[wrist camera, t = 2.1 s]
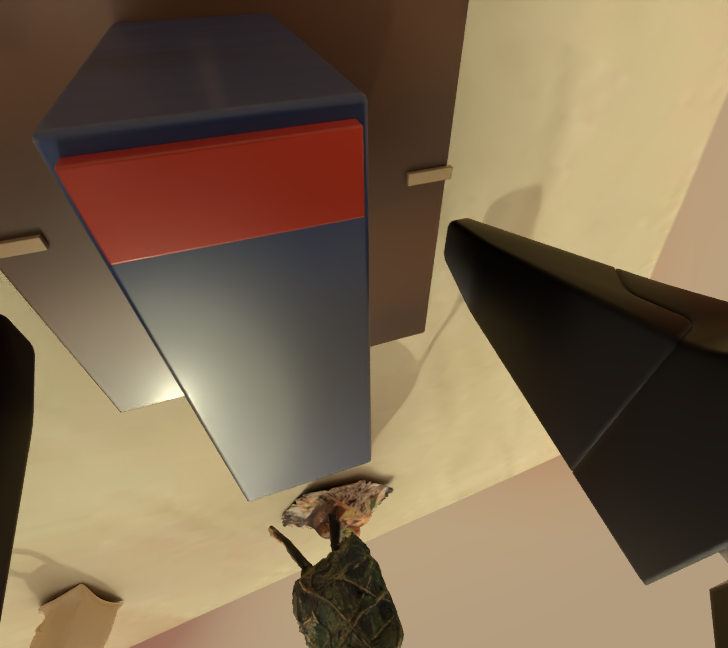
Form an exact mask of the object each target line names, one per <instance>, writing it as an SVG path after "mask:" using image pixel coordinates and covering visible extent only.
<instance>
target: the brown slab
mask: <svg viewBox="0 0 728 648" xmlns="http://www.w3.org/2000/svg"><path fill="white" fill-rule="evenodd" d="M468 2H469V0H0V270H1V271H2V273H3V274H4V275H5V276H6V277H7V278H8V280H9V281H10V282H11V283H12V284H13V286H14V287H15V288H16V289H17V290H18V291H19V293H20V294H21V295H22V296H23V297H24V299H25V300H26V301H27V302H28V303H29V304H30V306H31V307H32V308H33V309H34V310H35V312H36V313H37V314H38V315H39V316H40V317H41V319H42V320H43V321H44V322H45V323H46V325H47V326H48V327H49V328H50V329H51V330H52V332H53V333H54V334H55V335H56V336H57V338H58V339H59V340H60V341H61V342H62V343H63V345H64V346H65V347H66V348H67V349H68V351H69V352H70V353H71V354H72V355H73V356H74V358H75V359H76V360H77V361H78V362H79V364H80V365H81V366H82V367H83V368H84V369H85V371H86V372H87V373H88V374H89V375H90V377H91V378H92V379H93V380H94V381H95V382H96V384H97V385H98V386H99V387H100V388H101V390H102V391H103V392H104V393H105V394H106V395H107V397H108V398H109V399H110V400H111V401H112V403H113V404H114V405H115V406H116V407H117V408H118V410H119V411H120V412H125V411H129V410H133V409H137V408H140V407H144V406H148V405H152V404H155V403H159V402H163V401H167V400H170V399H174V398H178V397H182V396H185V395H184V394H183V392H182V390H181V389H180V387H179V385H178V384H177V382H176V380H175V379H174V377H173V375H172V374H171V372H170V370H169V369H168V367H167V365H166V364H165V362H164V360H163V359H162V357H161V355H160V354H159V352H158V350H157V349H156V347H155V345H154V344H153V342H152V340H151V339H150V337H149V335H148V334H147V332H146V330H145V329H144V327H143V325H142V324H141V322H140V320H139V319H138V317H137V315H136V314H135V312H134V310H133V309H132V307H131V305H130V304H129V302H128V300H127V299H126V297H125V295H124V294H123V292H122V290H121V289H120V287H119V285H118V284H117V282H116V280H115V279H114V277H113V275H112V274H111V272H110V270H109V269H108V267H107V265H106V264H105V262H104V260H103V259H102V257H101V255H100V254H99V252H98V250H97V249H96V247H95V245H94V244H93V242H92V240H91V239H90V237H89V235H88V234H87V232H86V230H85V229H84V227H83V225H82V224H81V222H80V220H79V218H78V217H77V215H76V213H75V212H74V210H73V208H72V207H71V205H70V203H69V202H68V200H67V198H66V197H65V195H64V193H63V192H62V190H61V188H60V187H59V185H58V183H57V182H56V180H55V178H54V177H53V175H52V173H51V172H50V170H49V168H48V167H47V165H46V163H45V162H44V160H43V158H42V157H41V155H40V153H39V152H38V150H37V148H36V147H35V145H34V143H33V139H32V133H33V131H34V130H35V129H36V127H37V126H38V125H39V123H40V122H41V121H42V119H43V118H44V116H45V115H46V114H47V112H48V111H49V110H50V108H51V107H52V106H53V104H54V103H55V102H56V100H57V99H58V97H59V96H60V95H61V93H62V92H63V91H64V89H65V88H66V87H67V85H68V84H69V82H70V81H71V80H72V78H73V77H74V76H75V74H76V73H77V72H78V70H79V69H80V68H81V66H82V65H83V63H84V62H85V61H86V59H87V58H88V57H89V55H90V54H91V53H92V51H93V50H94V48H95V47H96V46H97V44H98V43H99V42H100V40H101V39H102V38H103V36H104V35H105V34H106V32H107V31H108V29H109V28H110V27H111V25H113V24H114V23H126V22H141V21H155V20H170V19H184V18H199V17H213V16H228V15H242V14H257V13H270V14H272V15H273V16H274V17H275V18H277V19H278V20H279V21H280V22H281V23H282V24H284V25H285V26H286V27H287V28H288V29H289V30H291V31H292V32H293V33H294V34H295V35H296V36H298V37H299V38H300V39H301V40H302V41H303V42H305V43H306V44H307V45H308V46H309V47H310V48H312V49H313V50H314V51H315V52H316V53H317V54H319V55H320V56H321V57H322V58H323V59H324V60H326V61H327V62H328V63H329V64H330V65H331V66H333V67H334V68H335V69H336V70H337V71H338V72H340V73H341V74H342V75H343V76H344V77H345V78H347V79H348V80H349V81H350V82H351V83H352V84H354V85H355V86H356V87H357V88H358V89H359V90H361V91H362V92H363V93H364V94H365V96H366V99H367V110H368V207H369V303H370V346H374V345H378V344H382V343H385V342H389V341H393V340H397V339H400V338H404V337H408V336H412V335H415V334H419V333H423V332H424V331H425V324H426V316H427V309H428V301H429V294H430V286H431V279H432V271H433V264H434V256H435V249H436V241H437V234H438V226H439V219H440V211H441V204H442V196H443V189H444V181H445V180H446V179H451V175H452V168H453V167H452V166H451V165H448V166H447V159H448V151H449V144H450V136H451V129H452V121H453V114H454V106H455V99H456V91H457V84H458V76H459V69H460V62H461V54H462V47H463V39H464V32H465V24H466V17H467V9H468Z"/></svg>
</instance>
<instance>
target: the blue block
mask: <svg viewBox="0 0 728 648" xmlns="http://www.w3.org/2000/svg"><path fill="white" fill-rule="evenodd" d="M32 139H33V143H34V145H35V147H36V148H37V150H38V152H39V153H40V155H41V157H42V158H43V160H44V162H45V163H46V165H47V167H48V168H49V170H50V172H51V173H52V175H53V177H54V178H55V180H56V182H57V183H58V185H59V187H60V188H61V190H62V192H63V193H64V195H65V197H66V198H67V200H68V202H69V203H70V205H71V207H72V208H73V210H74V212H75V213H76V215H77V217H78V218H79V220H80V222H81V224H82V225H83V227H84V229H85V230H86V232H87V234H88V235H89V237H90V239H91V240H92V242H93V244H94V245H95V247H96V249H97V250H98V252H99V254H100V255H101V257H102V259H103V260H104V262H105V264H106V265H107V267H108V269H109V270H110V272H111V274H112V275H113V277H114V279H115V280H116V282H117V284H118V285H119V287H120V289H121V290H122V292H123V294H124V295H125V297H126V299H127V300H128V302H129V304H130V305H131V307H132V309H133V310H134V312H135V314H136V315H137V317H138V319H139V320H140V322H141V324H142V325H143V327H144V329H145V330H146V332H147V334H148V335H149V337H150V339H151V340H152V342H153V344H154V345H155V347H156V349H157V350H158V352H159V354H160V355H161V357H162V359H163V360H164V362H165V364H166V365H167V367H168V369H169V370H170V372H171V374H172V375H173V377H174V379H175V380H176V382H177V384H178V385H179V387H180V389H181V390H182V392H183V394H184V395H185V397H186V399H187V400H188V402H189V404H190V405H191V407H192V409H193V410H194V412H195V414H196V416H197V417H198V419H199V421H200V422H201V424H202V426H203V427H204V429H205V431H206V432H207V434H208V436H209V437H210V439H211V441H212V442H213V444H214V446H215V447H216V449H217V451H218V452H219V454H220V456H221V457H222V459H223V461H224V462H225V464H226V466H227V467H228V469H229V471H230V472H231V474H232V476H233V477H234V479H235V481H236V482H237V484H238V486H239V487H240V489H241V491H242V492H243V494H244V496H245V497H246V499H247V501H253V500H256V499H259V498H262V497H265V496H268V495H271V494H274V493H277V492H280V491H283V490H287V489H290V488H293V487H296V486H299V485H302V484H305V483H308V482H311V481H314V480H317V479H320V478H323V477H326V476H329V475H332V474H335V473H338V472H341V471H344V470H347V469H350V468H353V467H356V466H359V465H362V464H365V463H368V462H370V461H371V399H370V303H369V207H368V110H367V99H366V96H365V94H364V93H363V92H362V91H361V90H359V89H358V88H357V87H356V86H355V85H354V84H352V83H351V82H350V81H349V80H348V79H347V78H345V77H344V76H343V75H342V74H341V73H340V72H338V71H337V70H336V69H335V68H334V67H333V66H331V65H330V64H329V63H328V62H327V61H326V60H324V59H323V58H322V57H321V56H320V55H319V54H317V53H316V52H315V51H314V50H313V49H312V48H310V47H309V46H308V45H307V44H306V43H305V42H303V41H302V40H301V39H300V38H299V37H298V36H296V35H295V34H294V33H293V32H292V31H291V30H289V29H288V28H287V27H286V26H285V25H284V24H282V23H281V22H280V21H279V20H278V19H277V18H275V17H274V16H273V15H272V14H270V13H257V14H242V15H228V16H213V17H199V18H184V19H170V20H155V21H141V22H126V23H114V24H113V25H111V27H110V28H109V29H108V31H107V32H106V34H105V35H104V36H103V38H102V39H101V40H100V42H99V43H98V44H97V46H96V47H95V48H94V50H93V51H92V53H91V54H90V55H89V57H88V58H87V59H86V61H85V62H84V63H83V65H82V66H81V68H80V69H79V70H78V72H77V73H76V74H75V76H74V77H73V78H72V80H71V81H70V82H69V84H68V85H67V87H66V88H65V89H64V91H63V92H62V93H61V95H60V96H59V97H58V99H57V100H56V102H55V103H54V104H53V106H52V107H51V108H50V110H49V111H48V112H47V114H46V115H45V116H44V118H43V119H42V121H41V122H40V123H39V125H38V126H37V127H36V129H35V130H34V131H33V133H32Z"/></svg>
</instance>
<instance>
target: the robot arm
mask: <svg viewBox="0 0 728 648" xmlns="http://www.w3.org/2000/svg"><path fill="white" fill-rule="evenodd" d="M444 256H445V261H446V263H447V265H448V267H449V269H450V271H451V273H452V275H453V278H454V280H455V282H456V284H457V286H458V288H459V290H460V292H461V294H462V296H463V298H464V300H465V302H466V304H467V306H468V308H469V310H470V312H471V313H472V315H473V317H474V318H475V320H476V322H477V323H478V325H479V326H480V328H481V329H482V331H483V333H484V334H485V336H486V337H487V339H488V340H489V342H490V344H491V345H492V347H493V348H494V350H495V351H496V353H497V355H498V356H499V358H500V359H501V361H502V362H503V364H504V366H505V367H506V369H507V370H508V372H509V373H510V375H511V377H512V378H513V380H514V381H515V383H516V384H517V386H518V388H519V389H520V391H521V392H522V394H523V395H524V397H525V399H526V400H527V402H528V403H529V405H530V406H531V408H532V410H533V411H534V413H535V414H536V416H537V417H538V419H539V421H540V422H541V424H542V425H543V427H544V428H545V430H546V432H547V433H548V435H549V436H550V438H551V439H552V441H553V443H554V444H555V446H556V447H557V449H558V450H559V452H560V454H561V455H562V457H563V458H564V460H565V461H566V463H567V464H568V466H569V468H570V469H571V470H572V471H573V474H574V476H575V477H576V479H577V481H578V482H579V484H580V485H581V487H582V488H583V490H584V492H585V493H586V495H587V496H588V498H589V499H590V501H591V503H592V504H593V506H594V507H595V509H596V510H597V512H598V514H599V515H600V517H601V518H602V520H603V521H604V523H605V525H606V526H607V528H608V529H609V531H610V532H611V534H612V536H613V537H614V538H615V540H616V542H617V543H618V545H619V547H620V548H621V550H622V551H623V553H624V554H625V556H626V557H627V559H628V561H629V562H630V564H631V565H632V567H633V568H634V570H635V572H636V573H637V574H638V576H639V577H640V579H641V580H642V581H643V583H644V584H645V585H648V584H650V583H653V582H655V581H657V580H659V579H661V578H663V577H666V576H667V575H670V574H672V573H674V572H676V571H678V570H681V569H683V568H685V567H687V566H689V565H691V564H693V563H695V562H698V561H700V560H702V559H704V558H707V557H709V556H711V555H713V554H715V553H717V552H719V553H720V554H721V556H722V557H723V558H724V559H725V560H726V561H727V562H728V302H726V301H723V300H719V299H716V298H712V297H708V296H705V295H701V294H698V293H694V292H691V291H687V290H684V289H680V288H677V287H674V286H670V285H666V284H664V283H660V282H657V281H654V280H651V279H648V278H645V277H642V276H639V275H635V274H632V273H630V272H627V271H624V270H621V269H616V270H615V268H614V267H611V266H608V265H606V264H603V263H600V262H597V261H594V260H591V259H588V258H585V257H582V256H579V255H576V254H573V253H570V252H567V251H564V250H561V249H558V248H555V247H552V246H549V245H546V244H543V243H540V242H537V241H534V240H531V239H528V238H525V237H522V236H519V235H516V234H513V233H510V232H507V231H504V230H501V229H499V228H496V227H493V226H490V225H487V224H484V223H481V222H478V221H475V220H472V219H469V218H464V219H459V220H455V221H452V222H451V223H450V224H449V226H448V230H447V237H446V243H445V250H444ZM34 372H35V353H34V349H33V347H32V345H31V343H30V342H29V341H28V340H27V339H26V338H25V336H24V335H23V334H22V333H21V332H20V331H19V330H18V329H17V328H16V327H15V326H14V325H13V324H12V322H11V321H10V320H9V319H8V318H6V317H5V316H3V315H1V314H0V621H1V615H2V609H3V603H4V597H5V591H6V585H7V579H8V573H9V567H10V561H11V555H12V549H13V543H14V537H15V531H16V525H17V519H18V513H19V507H20V501H21V495H22V489H23V482H24V476H25V470H26V464H27V458H28V452H29V446H30V440H31V434H32V426H33V413H34ZM710 600H711V609H712V619H713V628H714V638H715V648H728V580H727V581H725V582H723V583H721V584H719V585H717V586H715V587H713V588H711V589H710Z"/></svg>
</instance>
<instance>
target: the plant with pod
mask: <svg viewBox="0 0 728 648" xmlns="http://www.w3.org/2000/svg"><path fill="white" fill-rule="evenodd" d="M370 484H371V481H370V482H369V483H368V484H366V485H365V480H360V481H359V482H357V483H353V484H348V485H342V486H340V487H335V488H332V489H331V490H327V491H322V490H321V491H318V492H311V493H308V494H304V495H303V496H301V498H299V499H297V500H295V501H296V504H297V505H294V504H291V505H292V507H289V508H290V509H289V511H288V510H286V513H285V514H283V516H284V518H281V519H282V520H283V522H282V523H284V524H283V526H284V527H285V526H287V525H288V526H291V527H292V526H295V525H296V526H297V527H302V528H305V527H307V528H309V527H310V529H312V528H314V529H315V530H316V532H317V533H318V534H319V535H320V536H321V537H323V538H325V539H330V541H331V545H330V546H331V548H332V552H330V553H329V554H328V556H327V557H326V558H323V559H322V560H320V561H319V562H318V563H317V564H316V565H314V566H312V564H311V563H310V562H308V561H307V559H306V558H305V557H304V556H303V555H302V554H301V553H300V551H299V550H298V549H297V548H296V547H295V546H294V545H293V544H292V542H291V541H290V540H289V539H287V538H286V537H285V536H284V535H283V534H281V533H280V532H279V531H278V530H277V529H276V528H275V527H273V526H270V527H269V529H268V531H269V533H270V536H271V537H272V538H275V539H276V540H277V541H278V542H280V543H282V544H283V545H284V546H285V547H286V549H287V551H288V553H289V554H290V555H291V557H292V559H293V560H294V561H295V562H296V563H297V564H298V566H300V567H301V569H302V570H301V578H300V579H298V580H297V581H296V582H295V585H294V588H293V593H292V595H293V600H292V604H293V613H294V615H295V617H296V620H297V623H298V624H299V628H300V630H299V632H301V633H303V634H304V635H305V640H306V645H307V646H308V647H309V648H401V645H402V641H403V636H404V633H403V629H402V625H401V623H400V620H399V617H398V614H397V610H396V608H395V605H394V603H393V601H392V598H391V595H390V593H389V591H388V590H387V587H386V584H385V582H384V579H383V577H382V575H381V570H380V567H379V564H378V562H376V560H375V559H374V558H373V557H372V556H371V555H370V549H369V548H368V547H367V546H366V544H365V543H363V542H362V540H361V539H360V538H359V535H360V528H359V527H361V526H363V525H365V524H366V523H367V522H368V521H369V518H370V517H371V514H372V513H373V511H374V510H375V508H376V507H377V505H380V504H381V502H382V501H383V500H384V499H386V498H385V497H388V493H392V491H393V490H392V488H390V487H389V486H384V485H383V484H379V485H378V484H377V483H376V484H374V483H373V484H371V485H370Z"/></svg>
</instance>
